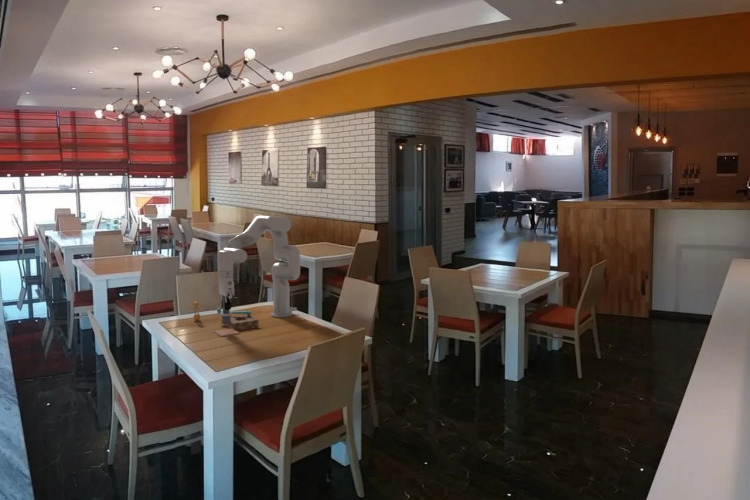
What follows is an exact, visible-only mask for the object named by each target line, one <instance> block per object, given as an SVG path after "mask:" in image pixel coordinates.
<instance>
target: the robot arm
mask: <svg viewBox="0 0 750 500" xmlns="http://www.w3.org/2000/svg"><path fill="white" fill-rule="evenodd" d="M250 222H251V223H250V224H249V225H248V226H247V227H246V229H245V230H244V231H243V232H242V233H239V234H238V235H236V236H235V237H232V238H231V239H230V240H228V242H227V243H226V244H225V245H224V246H223V248H222V250H218V252H217V265H218V266H217V270H218V271H217V273H218V274H217V275H218V278H219V279H218V293H219V295H220V299H221V301H220V302H221V303H220V304H221V309H223V296H225V310H229V309H230V310H232V299H233V297H234V296H235V283H234V264H241V263H244V262H246V260H248V259H247V258H248V254H247V251H245V250H244V249H242V248H243V247H247V246H251V245H253V244H256V243H257V242H258V240H259V239H260V237H261V236H262V235H263V234H264V233H265V232H269V233H270V234H271V237H272V248H273V249H272V250H273V251H272V252H273V253H272V254H273V258H274V259H275V260H277V261H278V262H276V263H275V262H274V264H272V266H271V270H270V271H271V277H272V292H273V293H272V297H273V301H272V307H273V310H272V311H273V312H271V313H270V316H271V317H272V318H279V319H280V318H288V317H289V318H290V317H291V316H293V312H296V311H297V310H298V308H297V307H293V306H290V283H289V281H296V280H298V279H299V278H300V275H301V253H300V249H299V247H298V246H296V245H292V244H289V242H288V241H289V240H288V234H287V232H288V231H290V229H291V227H292V221H291V219H290V218H289V217H287V216H278V215H264V214H263V215H260V214H259V215H257V216H255V218H254V219H253V220H252V221H250ZM279 261H280V262H279ZM281 261H282V262H281ZM227 295H229V296H227ZM227 297H229V298H227Z"/></svg>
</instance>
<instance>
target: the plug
mask: <svg viewBox="0 0 750 500" xmlns="http://www.w3.org/2000/svg"><path fill="white" fill-rule="evenodd" d="M227 296H229V295H227ZM227 298H229V297H227ZM222 311H223V312H221V313H220V315H219V316H220V317H221V323H222V324H223V325H224V324H229V323H231V317H232V316H233V314H232V312H230V311H231V309H229V310H225V296H223V308H222Z"/></svg>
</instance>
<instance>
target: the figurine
mask: <svg viewBox="0 0 750 500" xmlns="http://www.w3.org/2000/svg"><path fill="white" fill-rule="evenodd" d="M191 306H194V307H193V309H194V314H193V320H194V321H196V322H197V321H200V319H201V314H200V313H199V312H200V306H201V307H202V308H203V309H205V307H204V306H203V304H202V303H199V302H198V300H195V302H194V303H191V304H190V305H189V307H188V310H190V309H191ZM196 311H197V312H196Z"/></svg>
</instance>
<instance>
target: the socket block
mask: <svg viewBox="0 0 750 500" xmlns="http://www.w3.org/2000/svg"><path fill="white" fill-rule="evenodd" d="M251 314H252V313H251ZM251 314H241V315H237V316H236V315H235V316H231V323H229V324H223V326H225V327H226V328H228V329H234V330H236V331H240V330H241V331H242V330H246V329H253V328H259V319H258V318H255V317H253V316H251Z"/></svg>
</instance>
